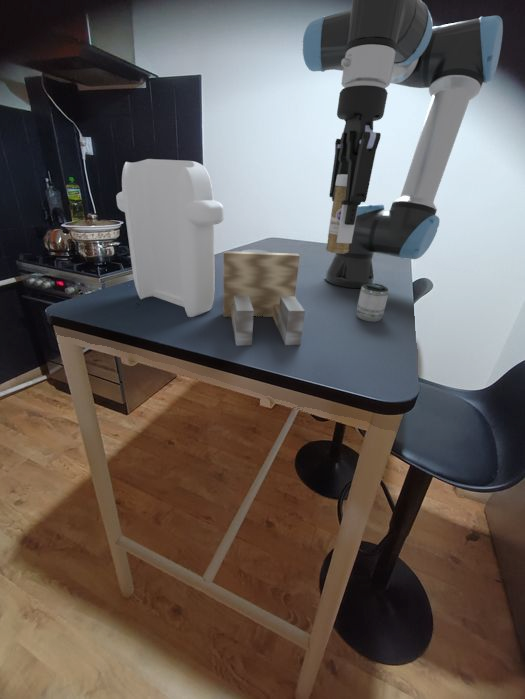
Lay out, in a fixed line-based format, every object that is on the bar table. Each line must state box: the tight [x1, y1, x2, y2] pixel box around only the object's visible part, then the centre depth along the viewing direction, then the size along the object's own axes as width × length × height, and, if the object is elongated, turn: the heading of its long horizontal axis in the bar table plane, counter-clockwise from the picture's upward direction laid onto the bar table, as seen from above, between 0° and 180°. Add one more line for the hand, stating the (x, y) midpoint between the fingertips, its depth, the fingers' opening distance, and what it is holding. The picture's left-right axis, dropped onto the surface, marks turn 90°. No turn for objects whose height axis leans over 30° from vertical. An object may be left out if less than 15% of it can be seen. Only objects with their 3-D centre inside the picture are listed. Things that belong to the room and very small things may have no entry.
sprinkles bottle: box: [325, 174, 349, 254], centre depth 60 cm, size 5×5×14 cm
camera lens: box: [356, 282, 390, 323], centre depth 75 cm, size 6×6×8 cm
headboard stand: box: [222, 250, 306, 347], centre depth 64 cm, size 16×16×14 cm
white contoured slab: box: [115, 158, 225, 318], centre depth 70 cm, size 27×11×30 cm, turn 56°
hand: (339, 239), depth 62 cm, fingers closed on sprinkles bottle, 4 cm apart
